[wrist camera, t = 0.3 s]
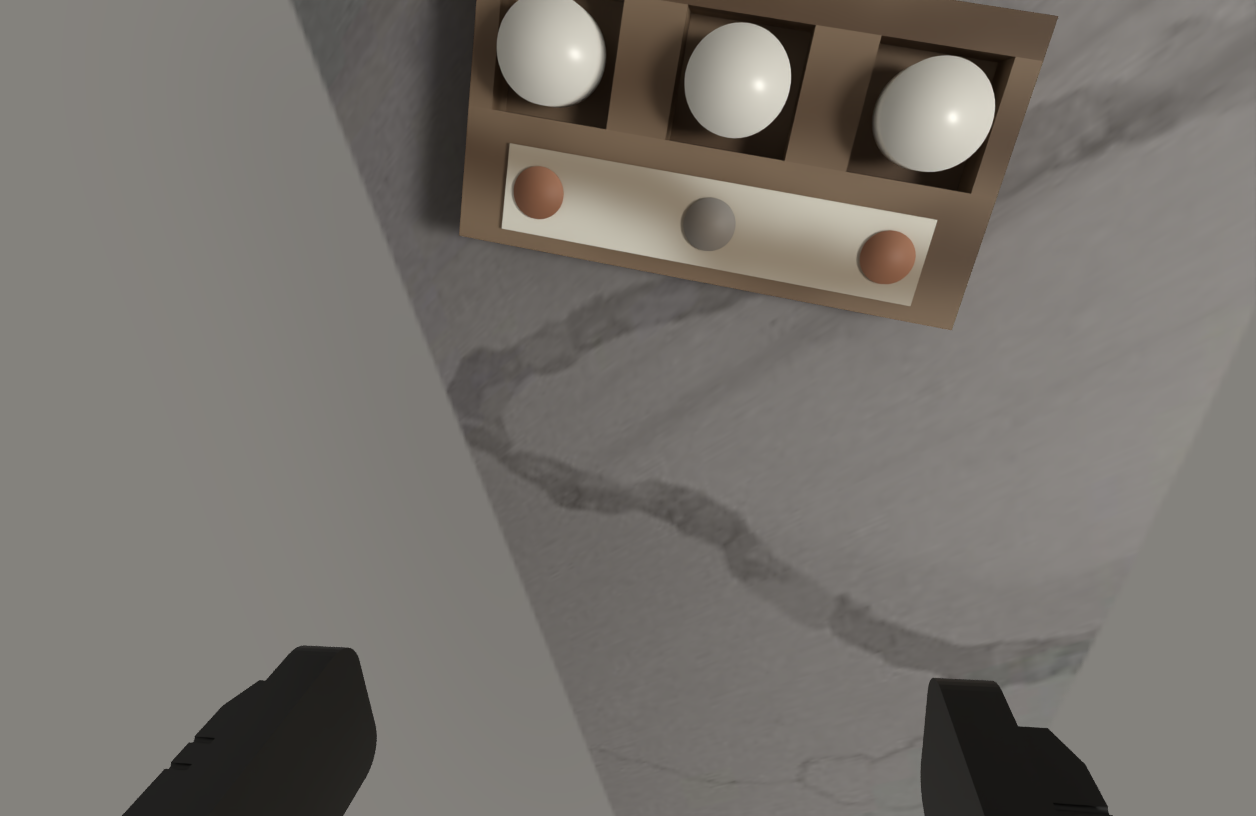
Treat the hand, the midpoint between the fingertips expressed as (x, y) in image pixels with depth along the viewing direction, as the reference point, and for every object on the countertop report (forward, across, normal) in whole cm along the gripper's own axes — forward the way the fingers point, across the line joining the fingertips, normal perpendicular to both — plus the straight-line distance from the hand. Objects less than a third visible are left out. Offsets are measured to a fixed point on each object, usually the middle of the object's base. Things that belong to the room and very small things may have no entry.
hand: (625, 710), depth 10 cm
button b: (+24, -1, -9) cm, 26 cm away
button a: (+24, -9, -8) cm, 27 cm away
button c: (+24, +6, -11) cm, 27 cm away
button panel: (+27, -1, -7) cm, 28 cm away
